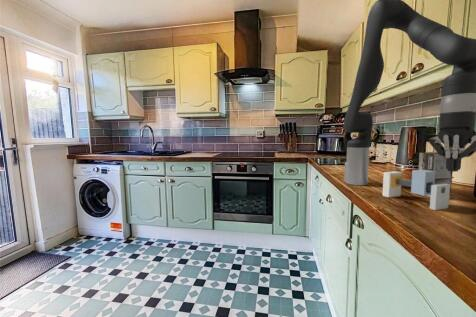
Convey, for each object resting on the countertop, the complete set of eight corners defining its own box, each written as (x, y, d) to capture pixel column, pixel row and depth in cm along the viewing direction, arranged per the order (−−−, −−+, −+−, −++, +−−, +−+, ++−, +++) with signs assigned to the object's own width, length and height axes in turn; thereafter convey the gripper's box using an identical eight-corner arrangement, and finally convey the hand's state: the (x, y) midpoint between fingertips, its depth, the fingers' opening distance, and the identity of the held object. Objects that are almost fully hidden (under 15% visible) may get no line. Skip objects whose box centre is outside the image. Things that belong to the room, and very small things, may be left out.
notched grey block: (410, 192, 75) (412, 170, 75) (420, 191, 77) (422, 169, 76) (423, 195, 72) (425, 172, 71) (433, 194, 73) (435, 171, 72)
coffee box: (451, 198, 80) (455, 153, 78) (430, 198, 81) (434, 153, 79) (434, 192, 88) (437, 151, 87) (416, 191, 90) (418, 151, 88)
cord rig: (382, 195, 85) (383, 172, 84) (394, 194, 87) (395, 171, 86) (435, 210, 68) (437, 181, 67) (448, 207, 70) (450, 179, 69)
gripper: (423, 113, 69) (419, 169, 71) (479, 108, 57) (474, 175, 58) (439, 114, 72) (435, 167, 73) (497, 108, 59) (491, 173, 61)
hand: (452, 171), depth 66 cm, fingers closed
